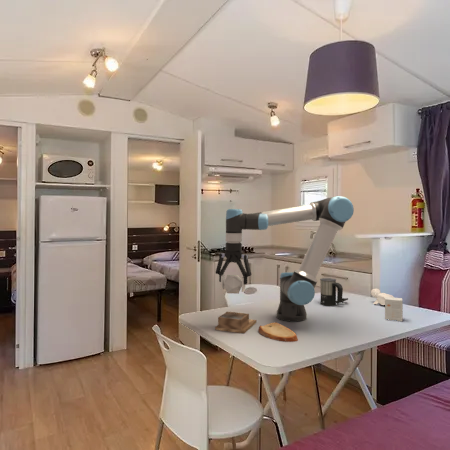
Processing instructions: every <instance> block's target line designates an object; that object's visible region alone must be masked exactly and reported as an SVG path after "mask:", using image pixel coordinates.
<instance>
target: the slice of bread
mask: <svg viewBox="0 0 450 450" xmlns="http://www.w3.org/2000/svg"><path fill="white" fill-rule="evenodd" d="M257 330H258V334H260V335H262V336H263V337H265V338H269V339H271V340H275V341H279V342H285V343H294V342H298V341H299V338H298V336H297V334H296V333H295V332H294V331H293V330H291V329H290V328H288V326H285V325H283V324H280V323H278V322H277V321H275V322H270V323H267V324H264V325H259V327H258V329H257Z"/></svg>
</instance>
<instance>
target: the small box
mask: <svg viewBox="0 0 450 450" xmlns="http://www.w3.org/2000/svg"><path fill="white" fill-rule="evenodd" d="M403 305H404V304H403V298H402V297H394V298H392V297H385V306H384V320H385V319H389V320H388V321H392V320H397V321H396V322H403V315H404V314H403V311H404V310H403Z"/></svg>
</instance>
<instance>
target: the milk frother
mask: <svg viewBox="0 0 450 450" xmlns="http://www.w3.org/2000/svg"><path fill="white" fill-rule="evenodd" d="M319 280H320V302H319V304H320V305H321V306H323V307H324V306H326V307H330V306H331V307H335V306H337V304H340V303H341V302H342V303H344V302H346V301H348V300H349V298H348V297H345V298H344V297H343V291H344V290H343V285H342V284H341V283H340V282H337V279H336V278H331V277H325V278H324V277H322V278H320V279H319Z"/></svg>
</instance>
